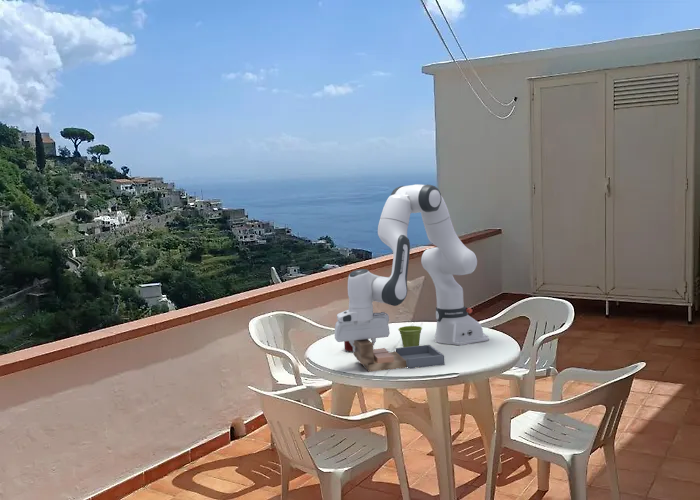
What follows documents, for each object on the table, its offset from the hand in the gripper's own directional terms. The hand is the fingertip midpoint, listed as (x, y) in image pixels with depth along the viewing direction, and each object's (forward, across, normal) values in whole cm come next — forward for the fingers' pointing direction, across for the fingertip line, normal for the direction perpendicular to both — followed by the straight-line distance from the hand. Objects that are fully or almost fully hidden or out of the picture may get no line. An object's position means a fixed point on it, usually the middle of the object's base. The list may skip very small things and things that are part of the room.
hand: (363, 351), depth 240 cm
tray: (+6, -21, 0) cm, 22 cm away
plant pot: (+6, -23, -17) cm, 29 cm away
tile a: (+3, -7, -3) cm, 8 cm away
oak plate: (+6, -7, 0) cm, 9 cm away
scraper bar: (+3, 0, 0) cm, 3 cm away
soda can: (+6, -1, -25) cm, 26 cm away
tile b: (+3, -7, +4) cm, 8 cm away
